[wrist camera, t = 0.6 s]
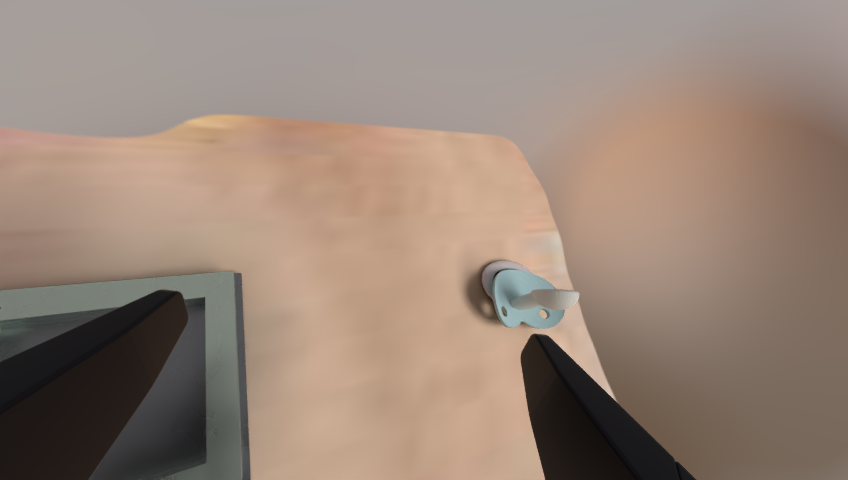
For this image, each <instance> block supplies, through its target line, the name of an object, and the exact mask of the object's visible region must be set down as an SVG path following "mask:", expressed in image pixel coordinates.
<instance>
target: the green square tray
mask: <svg viewBox="0 0 848 480" xmlns="http://www.w3.org/2000/svg"><path fill="white" fill-rule="evenodd" d="M160 289H166V290H175V291H179V292H181V293H182V294H183V297H184V301H185V304H186V308H187V311H188V322H187V325H186V327H185V329H184V331H183V332H182V334H181V336H180V338H179V340H178V341H177V343H176V345H175V347H174V349H173V351H172V352H171V354H170V356H169V358H168V360H167V362H166V363H165V365H164V367H163V369H162V371H161V373H160V374H159V376H158V378H157V379H156V381H155V383H154V385H153V386H152V388H151V389H150V391H149V392H148V394H147V395H146V397H145V398H144V400H143V401H142V403H141V404H140V406H139V407H138V408H137V410H136V411H135V413H134V414H133V416H132V417H131V419H130V420H129V422H128V423H127V425H126V426H125V427H124V429H123V430H122V432H121V433H120V435H119V436H118V438H117V439H116V441H115V442H114V443H113V445H112V446H111V448H110V449H109V451H108V452H107V454H106V455H105V457H104V458H103V460H102V461H101V462H100V464H99V465H98V467H97V468H96V470H95V471H94V473H93V474H92V476H91V477H90V478H89V480H250V479H251V475H250V453H249V431H248V409H247V387H246V365H245V343H244V321H243V299H242V277H241V273H238V274H234V271H227V272H215V273H203V274H191V275H179V276H167V277H155V278H143V279H130V280H118V281H106V282H94V283H82V284H70V285H58V286H46V287H34V288H22V289H10V290H0V361H3V360H5V359H7V358H9V357H11V356H14V355H16V354H18V353H20V352H22V351H25V350H27V349H29V348H31V347H34V346H36V345H38V344H40V343H42V342H45V341H47V340H49V339H51V338H53V337H56V336H58V335H60V334H62V333H64V332H67V331H69V330H71V329H73V328H75V327H78V326H80V325H82V324H84V323H86V322H89V321H91V320H93V319H95V318H97V317H100V316H102V315H104V314H106V313H108V312H111V311H113V310H115V309H117V308H119V307H122V306H124V305H126V304H128V303H130V302H133V301H135V300H137V299H139V298H141V297H144V296H146V295H148V294H150V293H152V292H155V291H157V290H160Z"/></svg>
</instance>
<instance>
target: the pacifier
mask: <svg viewBox="0 0 848 480" xmlns="http://www.w3.org/2000/svg"><path fill="white" fill-rule="evenodd" d="M502 270H504V271H502ZM497 271H501V272H500V273H498V274H497V275H496V276H495V278H494V281H493V277H494V275H495V273H496V272H497ZM482 284H483V288H484V290H485V291H486V293H487V294H488V295H489V296H490V297H491V298H492V299H493V302H494V307H495V311H496V313H497V316H498V318H499V320H500V322H501V323H502V324H503V325H504V326H506V327H509V328H514V327H517V326H518V325H519V324H520V323H521V322H523V323H525V324H526V325H528V326H530V327H533V328H537V329H546V328H551V327H553V326H555V325H556V324H558V323H559V322H560V321H561V319H562V318H563V315H564V311H565V309H568V308H570V307H572V306H573V305H574V304H575V303H576V302H577V301H578V298H579V293H578V292H576V291H571V290H562V289H555V287H554V286H553V285H552V284H551V283H549V282H548V281H546V280H545V279H543V278H541V277H539V276H537V275H534V274H533V273H532V272H531V271H530V270H529V269H527V268H526V267H524V266H523V265H520V264H518V263H516V262H512V261H496V262H493V263H491V264H489V265H488V266H487V267H486V268H485V269H484V272H483V274H482ZM540 309H542V310H544V311H545V312H546V313H547V318H546V319H544V318H542V317H541V316H540V315H539V310H540ZM503 314H505V316H504V315H503Z"/></svg>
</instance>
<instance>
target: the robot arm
mask: <svg viewBox="0 0 848 480" xmlns="http://www.w3.org/2000/svg"><path fill="white" fill-rule="evenodd" d="M187 322H188V311H187V308H186V304H185V301H184V297H183V294H182V293H181V292H179V291H175V290H166V289H160V290H157V291H155V292H152V293H150V294H148V295H146V296H144V297H141V298H139V299H137V300H135V301H133V302H130V303H128V304H126V305H124V306H122V307H119V308H117V309H115V310H113V311H111V312H108V313H106V314H104V315H102V316H100V317H97V318H95V319H93V320H91V321H89V322H86V323H84V324H82V325H80V326H78V327H75V328H73V329H71V330H69V331H67V332H64V333H62V334H60V335H58V336H56V337H53V338H51V339H49V340H47V341H45V342H42V343H40V344H38V345H36V346H34V347H31V348H29V349H27V350H25V351H22V352H20V353H18V354H16V355H14V356H11V357H9V358H7V359H5V360H3V361H0V480H89V478H90V477H91V476H92V474H93V473H94V471H95V470H96V468H97V467H98V465H99V464H100V462H101V461H102V460H103V458H104V457H105V455H106V454H107V452H108V451H109V449H110V448H111V446H112V445H113V443H114V442H115V441H116V439H117V438H118V436H119V435H120V433H121V432H122V430H123V429H124V427H125V426H126V425H127V423H128V422H129V420H130V419H131V417H132V416H133V414H134V413H135V411H136V410H137V408H138V407H139V406H140V404H141V403H142V401H143V400H144V398H145V397H146V395H147V394H148V392H149V391H150V389H151V388H152V386H153V385H154V383H155V381H156V379H157V378H158V376H159V374H160V373H161V371H162V369H163V367H164V365H165V363H166V362H167V360H168V358H169V356H170V354H171V352H172V351H173V349H174V347H175V345H176V343H177V341H178V340H179V338H180V336H181V334H182V332H183V331H184V329H185V327H186V325H187ZM521 366H522V372H523V379H524V386H525V392H526V399H527V405H528V411H529V417H530V421H531V425H532V429H533V433H534V437H535V441H536V445H537V449H538V453H539V457H540V460H541V464H542V468H543V472H544V476H545V480H696V479H695V478H694V477H693V476H692V475H691V474H690V473H689V472H688V471H687V470H686V469H685V468H684V467H683V466H682V465H681V464H680V463H678V462H676V461H675V459H674V458H673V457H672V456H671V455H670V454H669V453H668V452H667V451H666V450H665V449H664V448H663V447H662V446H661V445H660V444H659V443H658V442H657V441H656V440H655V439H654V438H653V437H652V436H651V435H650V434H649V433H648V432H647V431H646V430H645V429H644V428H643V427H642V426H640V425H639V424H638V423H637V422H636V421H635V420H634V419H633V418H632V417H631V416H630V415H629V414H628V413H627V412H626V411H625V410H624V409H623V408H622V407H621V406H620V405H619V404H618V403H617V402H616V401H615V400H614V399H613V398H612V397H611V396H610V395H609V394H608V393H607V392H606V391H605V390H604V389H602V388H601V387H600V386H599V385H598V384H597V383H596V382H595V381H594V380H593V379H592V378H591V377H590V376H589V375H588V374H587V373H586V372H585V371H584V370H583V369H582V368H581V367H580V366H579V365H578V364H577V363H576V362H575V361H574V360H573V359H572V358H571V357H570V356H569V355H568V354H567V353H566V352H565V351H563V350H562V349H561V348H560V347H559V346H558V345H557V344H556V343H555V342H554V341H553V340H552V339H551V338H550V337H549V336H547V335H542V334H532V335H531V336H530V338H529V340H528V342H527V343H526V345H525V347H524V349H523V351H522V353H521Z"/></svg>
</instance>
